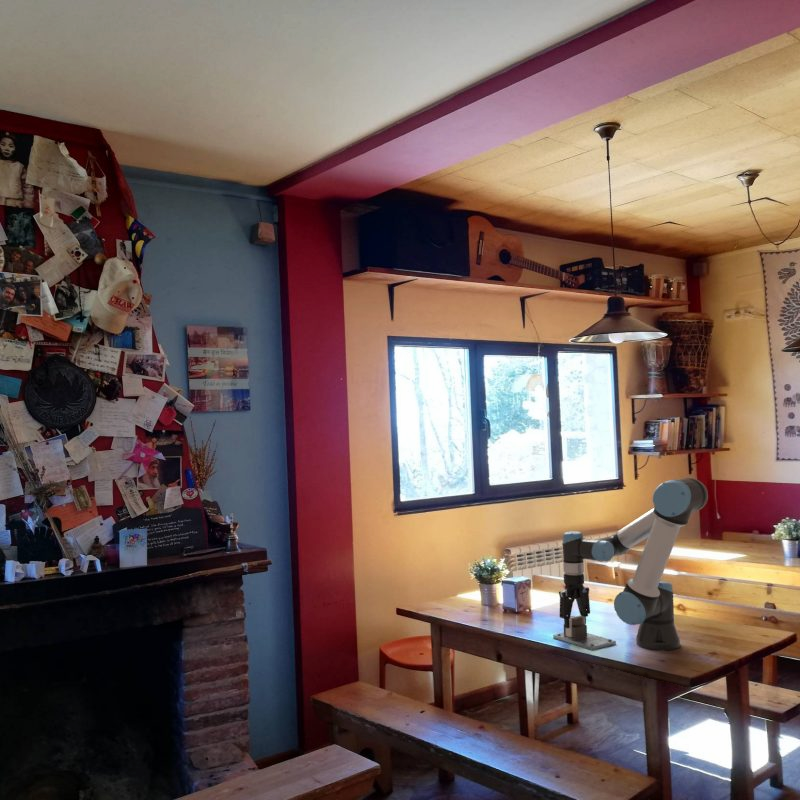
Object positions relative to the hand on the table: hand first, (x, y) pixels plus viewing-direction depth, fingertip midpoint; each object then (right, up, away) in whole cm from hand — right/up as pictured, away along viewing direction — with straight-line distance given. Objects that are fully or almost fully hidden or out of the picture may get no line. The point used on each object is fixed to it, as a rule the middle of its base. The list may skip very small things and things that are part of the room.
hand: (575, 634), depth 297 cm
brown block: (0, 0, 0) cm, 0 cm away
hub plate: (+2, -1, -4) cm, 4 cm away
